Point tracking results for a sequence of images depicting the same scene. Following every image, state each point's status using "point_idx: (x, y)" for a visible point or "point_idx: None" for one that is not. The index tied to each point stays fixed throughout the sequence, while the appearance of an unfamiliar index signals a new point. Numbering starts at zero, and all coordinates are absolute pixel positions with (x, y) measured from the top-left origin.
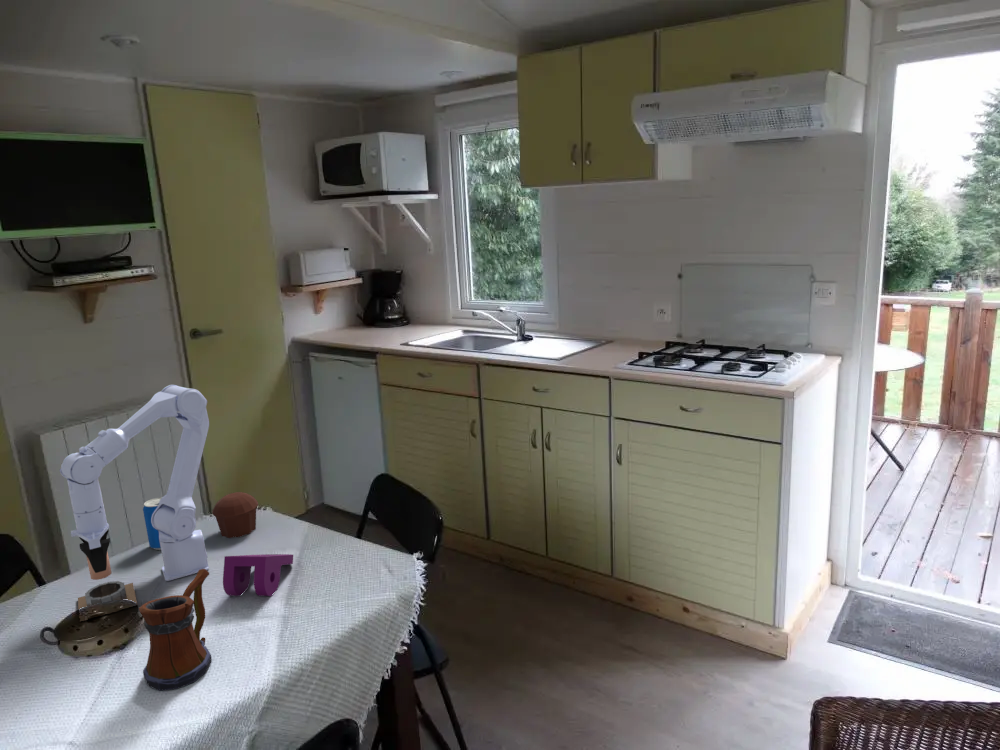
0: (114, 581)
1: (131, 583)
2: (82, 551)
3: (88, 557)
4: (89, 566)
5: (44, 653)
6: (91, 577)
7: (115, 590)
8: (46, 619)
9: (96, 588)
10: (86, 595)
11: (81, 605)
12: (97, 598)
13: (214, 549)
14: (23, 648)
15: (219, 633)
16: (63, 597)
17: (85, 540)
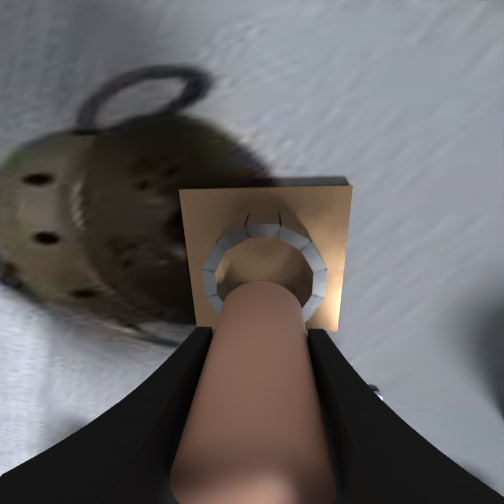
0: (313, 311)
1: (334, 328)
2: (10, 470)
3: (114, 407)
4: (231, 326)
5: (32, 89)
6: (242, 288)
7: (298, 295)
8: (272, 78)
9: (306, 258)
10: (262, 228)
11: (281, 197)
12: (212, 260)
13: None
14: (89, 7)
15: (9, 420)
16: (419, 133)
17: (363, 500)
